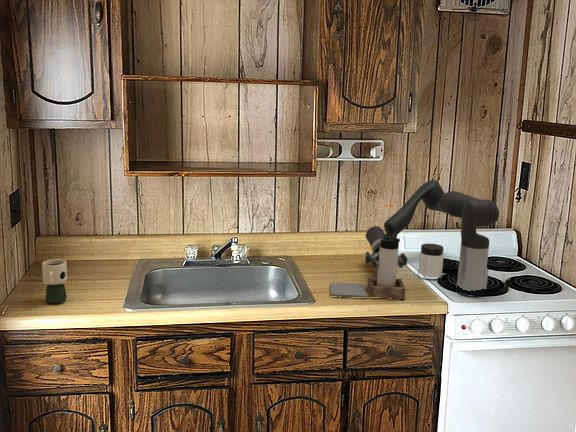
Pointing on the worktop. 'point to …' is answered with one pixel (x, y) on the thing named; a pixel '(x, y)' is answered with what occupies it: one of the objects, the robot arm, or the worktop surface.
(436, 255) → the jar
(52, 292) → the character mug
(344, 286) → the cover plate
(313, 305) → the worktop surface
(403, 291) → the walnut holder
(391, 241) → the travel mug
